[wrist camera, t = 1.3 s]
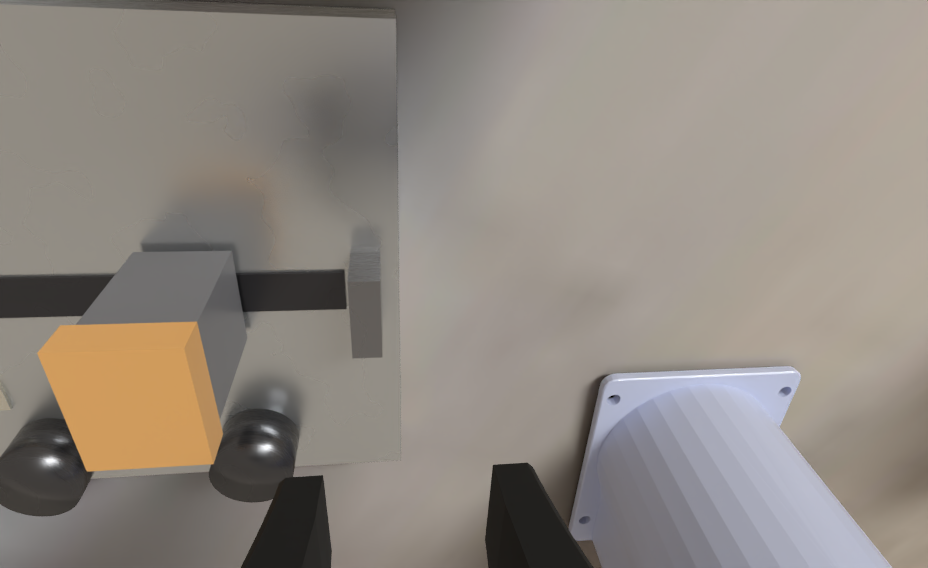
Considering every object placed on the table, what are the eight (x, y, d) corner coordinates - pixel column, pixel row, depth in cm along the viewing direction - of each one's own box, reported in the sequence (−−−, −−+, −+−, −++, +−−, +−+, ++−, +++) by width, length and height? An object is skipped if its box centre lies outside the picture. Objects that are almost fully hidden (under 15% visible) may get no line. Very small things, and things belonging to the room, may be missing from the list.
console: (400, 419, 22) (402, 498, 19) (-105, 444, 19) (-196, 539, 16) (394, 8, 14) (397, 29, 11) (-407, -23, 12) (-670, -9, 9)
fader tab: (251, 343, 16) (213, 464, 13) (155, 346, 16) (86, 471, 12) (234, 243, 15) (184, 348, 11) (126, 245, 14) (36, 353, 11)
